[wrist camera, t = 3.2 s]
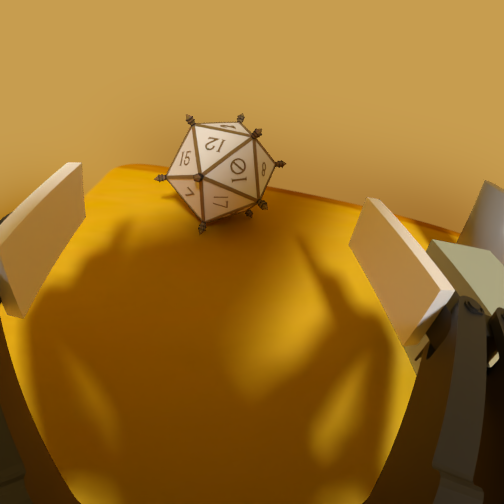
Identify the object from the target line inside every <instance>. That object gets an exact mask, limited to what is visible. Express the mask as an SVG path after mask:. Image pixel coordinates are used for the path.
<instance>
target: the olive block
mask: <svg viewBox="0 0 504 504" xmlns="http://www.w3.org/2000/svg"><path fill="white" fill-rule="evenodd" d="M426 253H427V254H428V256H429V257H430V258H431V259H432V260H433V261H434V263H435V264H436V265H437V266H438V268H439V270H441V272H442V273H443V274H444V276H445V277H446V278H447V279H448V281H449V282H450V284H451V285H452V286H453V288H454V289H455V290H456V292H457V293H458V294H459V296H468V297H470V298H472V299H474V300H475V301H477V302H478V303H479V305H480V306H481V307H482V308H483V310H484V313H485V315H488V316H492V314H493V313H494V312H495V310H496V309H497V308H499V307H501V308H504V266H503V264H502V263H501V262H500V261H499V260H498V259H497V258H496V257H495V256H494V255H493V254H492V252H491V251H489V250H484V249H479V248H475V247H470V246H465V245H460V244H455V243H449V242H444V241H439V240H434V239H432V240H431V242H430V244H429V246H428V248H427V250H426ZM428 341H429V339H428V337H427V335H426V334H425V335H424V336H423V338H422V339H421V340H420V342H419V343H418V344H417V345H409V346H403V347H404V349H405V351H406V353H407V355H408V358H409V360H410V362H411V364H412V366H413V369H414V371H415V373H416V375H417V373H418V370H419V366H420V362H421V358H422V357H421V358H419V359H418V360H417V361H415V360H414V359H415V358H416V356H417V355H418V354H419V353H420V351H421V350H422V349H423V348H424V346H425V345H426V344H427V342H428ZM498 359H499V354H498V353H497V354H496V355H495V356H494V358H493V359H492V360H491V361H490V362H489V365H490V367H492V366H493V365H494V364H495V363H496V362H497V361H498Z"/></svg>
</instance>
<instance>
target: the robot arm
mask: <svg viewBox="0 0 504 504" xmlns="http://www.w3.org/2000/svg"><path fill="white" fill-rule="evenodd" d="M85 217H86V215H85V204H84V192H83V176H82V163H71V162H68V163H66V164H65V165H64V166H63V167H61V168H60V169H59V170H58V171H57V172H55V173H54V174H53V175H52V176H51V177H50V178H48V179H47V180H46V181H45V182H44V183H43V184H42V185H41V186H40V187H38V188H37V189H36V190H35V191H34V192H33V193H32V194H31V195H30V196H29V197H27V198H26V199H25V200H24V201H23V202H22V203H21V204H20V205H19V206H18V207H17V208H16V209H15V210H14V211H13V212H11V213H10V214H8V215H6V216H5V217H3V218H2V219H1V220H0V304H1V302H2V304H3V306H4V309H5V311H6V313H7V315H11V316H15V317H19V318H23V319H24V317H25V315H26V313H27V312H28V310H29V308H30V306H31V304H32V302H33V300H34V298H35V297H36V295H37V293H38V291H39V289H40V288H41V286H42V284H43V282H44V281H45V279H46V277H47V276H48V274H49V272H50V271H51V269H52V267H53V266H54V264H55V262H56V261H57V259H58V258H59V256H60V254H61V253H62V251H63V250H64V248H65V247H66V245H67V244H68V242H69V241H70V239H71V238H72V236H73V235H74V233H75V232H76V230H77V229H78V227H79V226H80V225H81V223H82V222H83V220H84V219H85ZM349 246H350V248H351V250H352V251H353V253H354V255H355V257H356V258H357V260H358V262H359V264H360V265H361V267H362V269H363V271H364V273H365V274H366V276H367V278H368V280H369V282H370V283H371V285H372V287H373V289H374V291H375V293H376V295H377V297H378V298H379V300H380V302H381V304H382V306H383V308H384V310H385V312H386V314H387V316H388V318H389V320H390V322H391V324H392V326H393V328H394V330H395V332H396V334H397V336H398V338H399V340H400V342H401V344H402V346H409V345H417V344H418V343H419V342H420V340H421V339H422V338H423V336H424V335H425V334H426V335H427V337H428V339H429V341H428V342H427V344H426V345H425V346H424V348H423V349H422V350H421V351H420V353H419V354H418V355H417V356H416V358H415V359H414V360H415V361H417V360H418V359H419V358H421V357H422V358H421V362H420V366H419V370H418V373H417V377H416V380H415V384H414V387H413V390H412V393H411V397H410V400H409V403H408V406H407V409H406V412H405V415H404V417H403V420H402V423H401V426H400V428H399V431H398V434H397V436H396V439H395V441H394V444H393V446H392V449H391V451H390V454H389V456H388V458H387V461H386V463H385V465H384V467H383V470H382V472H381V474H380V476H379V478H378V480H377V482H376V484H375V486H374V488H373V490H372V492H371V494H370V496H369V497H368V498H367V500H366V501H365V502H364V503H362V504H504V308H501V307H499V308H497V309H496V310H495V312H494V313H493V314H492V316H488V315H485V313H484V310H483V308H482V307H481V306H480V305H479V303H478V302H477V301H475V300H474V299H472V298H470V297H468V296H459V294H458V293H457V292H456V290H455V289H454V288H453V286H452V285H451V284H450V282H449V281H448V279H447V278H446V277H445V276H444V274H443V273H442V272H441V270H439V268H438V266H437V265H436V264H435V263H434V261H433V260H432V259H431V258H430V257H429V256H428V254H427V253H426V252H425V251H424V249H423V248H422V247H421V246H420V245H419V243H418V242H417V241H416V240H415V239H414V237H413V236H412V235H411V234H410V233H409V232H408V230H407V229H406V228H405V227H404V226H403V225H402V224H401V222H400V221H399V220H398V219H397V218H396V217H395V216H394V215H393V213H392V212H391V211H390V210H389V209H388V208H387V207H386V206H385V205H384V204H383V203H382V202H381V200H380V199H375V198H370V197H366V200H365V202H364V205H363V208H362V211H361V213H360V216H359V219H358V221H357V224H356V227H355V229H354V232H353V234H352V237H351V240H350V242H349ZM497 353H498V354H499V359H498V361H497V362H496V363H495V364H494V365H493V366H492V367H490V365H489V362H490V361H491V360H492V359H493V358H494V356H495V355H496V354H497ZM0 504H81V503H80V502H79V501H78V500H77V499H76V498H75V497H74V495H73V494H72V492H71V491H70V489H69V488H68V486H67V484H66V483H65V481H64V479H63V478H62V476H61V474H60V473H59V471H58V469H57V467H56V465H55V464H54V462H53V460H52V458H51V456H50V454H49V452H48V450H47V448H46V446H45V444H44V442H43V440H42V438H41V436H40V434H39V432H38V430H37V427H36V425H35V423H34V421H33V418H32V416H31V414H30V411H29V409H28V406H27V404H26V401H25V399H24V396H23V393H22V391H21V388H20V385H19V382H18V379H17V376H16V373H15V370H14V367H13V364H12V360H11V357H10V354H9V350H8V347H7V343H6V339H5V335H4V331H3V327H2V322H1V318H0Z"/></svg>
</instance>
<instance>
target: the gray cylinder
mask: <svg viewBox="0 0 504 504" xmlns="http://www.w3.org/2000/svg"><path fill="white" fill-rule="evenodd" d="M456 244H460V245H465V246H470V247H475V248H479V249H484V250H489V251H491V252H492V254H493V255H494V256H495V257H496V258H497V259H498V260H499V261H500V262H501V263H502V264H503V266H504V190H503V189H502V188H500V187H499V186H497V185H495V184H493V183H491V182H489V181H486V180H485V181H484V184H483V186H482V189H481V191H480V193H479V196H478V198H477V200H476V203H475V205H474V207H473V209H472V211H471V214H470V216H469V218H468V220H467V222H466V225H465V227H464V228H463V231H462V233H461V235H460V237H459V239H458V240H457V242H456Z"/></svg>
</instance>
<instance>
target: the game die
mask: <svg viewBox="0 0 504 504" xmlns="http://www.w3.org/2000/svg"><path fill="white" fill-rule="evenodd" d="M243 120H244V115H243V113H242V114H241V115H239V116H238V118H237V122H214V123H195V122H194V119H193V116H190V115H186V121H187V122H188V124H190V125H191V127H190V129H189V131H188V132H187V134H186V136H185V138H184V140H183V142H182V144H181V146H180V148H179V150H178V152H177V154H176V156H175V158H174V160H173V162H172V164H171V166H170V168H169V170H168V172H167V174H166V175H163V174H162V175H158V176H157V177H156V178H155V179H154V180H157V181H159V182H160V181H164V180H167V181H168V182H169V183H170V184H171V185H172V187H173V188H174V189H175V190H176V191H177V193H178V194H179V195H180V196H181V197H182V199H183V200H184V201H185V202H186V203H187V205H188V206H189V207H190V208H191V209H192V211H193V212H194V213H195V214H196V215H197V217H198V218H199V219H200V220H201V221H202V223H201V224H200V225H199V226H200V227H199V228H198V229H199V233H200V234H201V233H202V232H204V231H206V230H205V228H206V223H208V222H211V221H214V220H218V219H221V218H224V217H228V216H231V215H235V214H238V213H241V212H246V213H245V214H246V216H248V217H251V218H252V214H253V213H252V211H251V210H249V209H250V208H252V207H253V206H255V205H256V204H258V206H259V207H260V208H261V209H262V210H263V209H267V210H268V207H267V202H265V201H262V200H261V198H262V196H263V194H264V192H265V189H266V187H267V185H268V182H269V180H270V178H271V175H272V173H273V171H274V169H275V167H283V166H284V165H285V164H286V163H285V162H283V161H278V162H274V160H273V159H272V157H271V156H270V155H269V154H268V152H267V151H266V150H265V148H264V147H263V146H262V145H261V143H260V142H259V141H258V140H257V138H258V137H259V136H261V135H262V134H261V131H262V129H255V131H254V132H253V133H251V132H250V131H249V130H248V129H247V128H246V127H245V126H244V125H243V124H242V123H241V122H243Z"/></svg>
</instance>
